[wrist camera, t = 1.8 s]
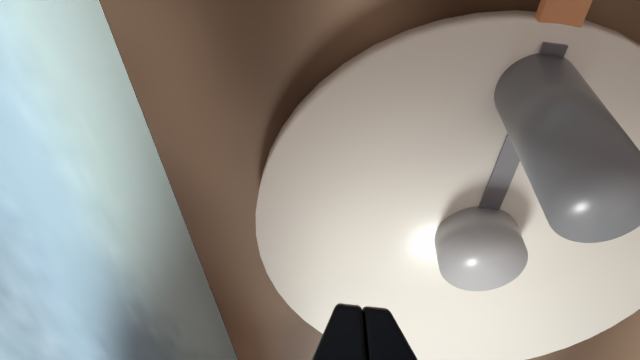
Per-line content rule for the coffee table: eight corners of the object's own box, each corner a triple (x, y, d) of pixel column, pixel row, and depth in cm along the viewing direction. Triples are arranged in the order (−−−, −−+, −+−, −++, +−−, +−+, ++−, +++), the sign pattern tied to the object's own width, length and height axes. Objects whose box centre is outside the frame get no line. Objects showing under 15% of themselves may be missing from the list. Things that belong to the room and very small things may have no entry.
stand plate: (254, 365, 30) (243, 437, 26) (100, -59, 17) (42, -18, 13) (682, 341, 27) (727, 417, 24) (899, -179, 14) (1061, -163, 11)
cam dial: (588, 364, 26) (646, 507, 21) (249, 330, 25) (227, 469, 20) (850, -3, 15) (1098, 108, 10) (277, -82, 14) (244, -4, 9)
